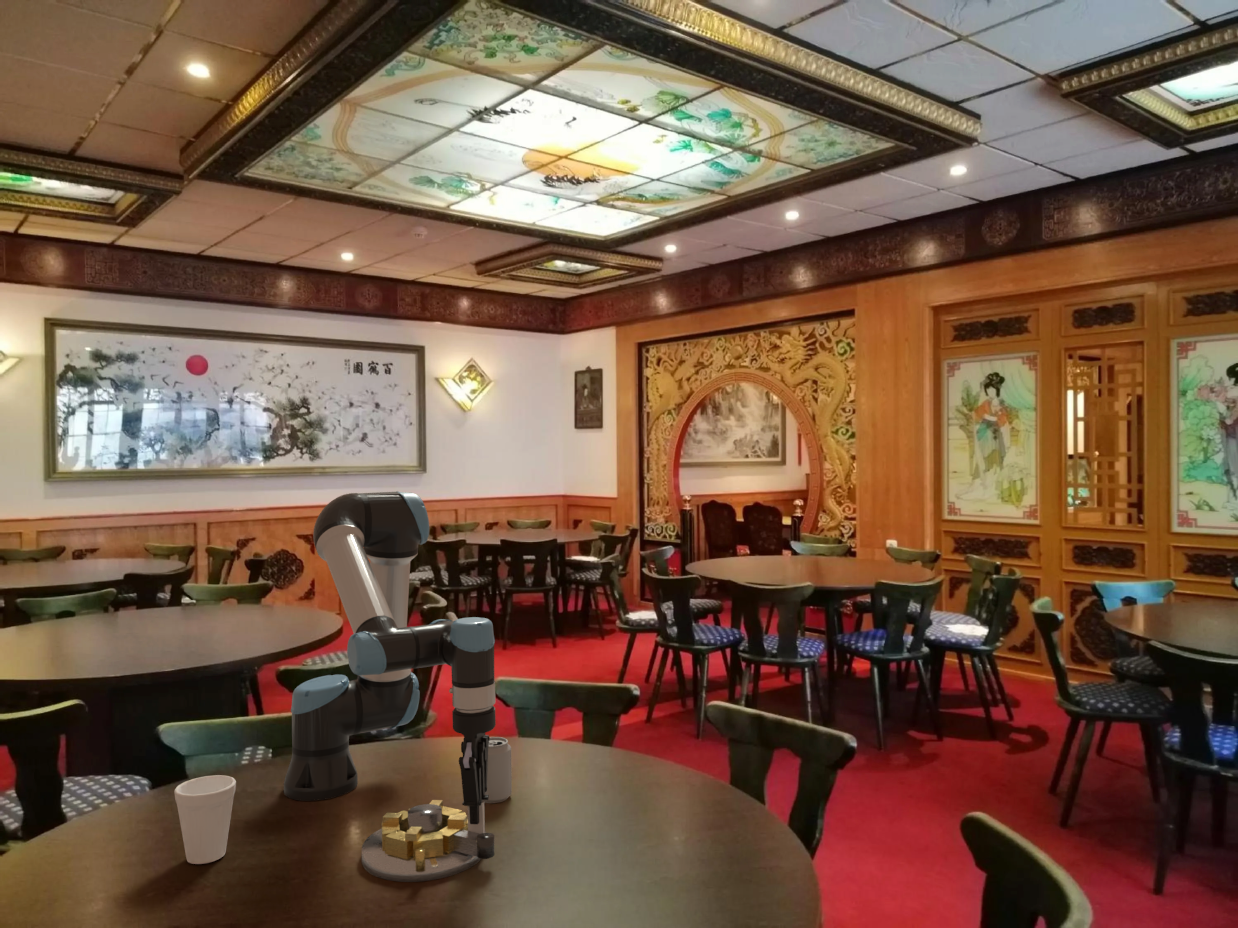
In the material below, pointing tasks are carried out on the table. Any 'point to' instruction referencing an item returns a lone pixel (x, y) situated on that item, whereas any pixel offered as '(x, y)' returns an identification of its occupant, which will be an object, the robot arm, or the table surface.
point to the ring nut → (434, 836)
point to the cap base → (409, 865)
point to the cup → (205, 816)
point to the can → (498, 770)
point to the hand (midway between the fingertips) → (476, 838)
